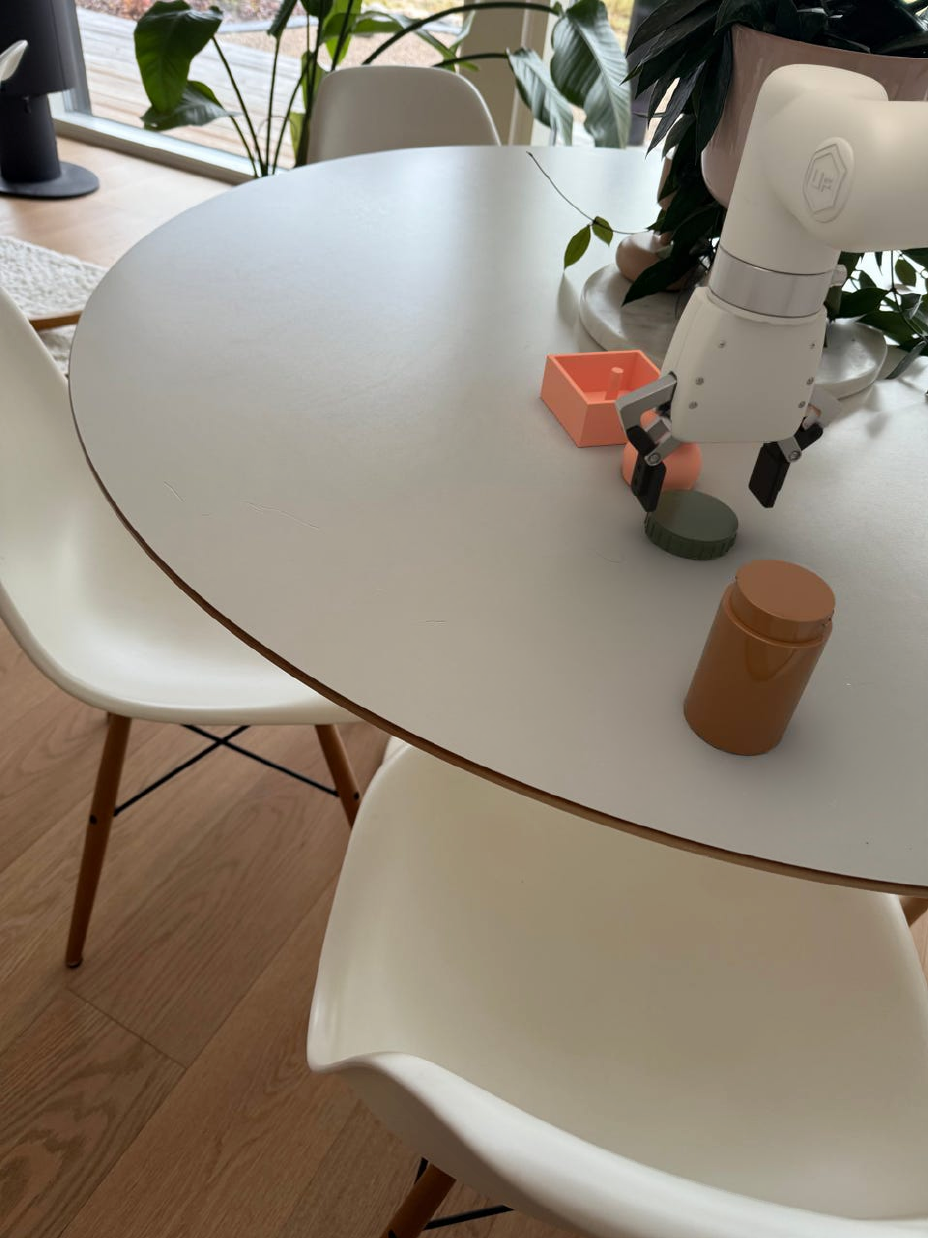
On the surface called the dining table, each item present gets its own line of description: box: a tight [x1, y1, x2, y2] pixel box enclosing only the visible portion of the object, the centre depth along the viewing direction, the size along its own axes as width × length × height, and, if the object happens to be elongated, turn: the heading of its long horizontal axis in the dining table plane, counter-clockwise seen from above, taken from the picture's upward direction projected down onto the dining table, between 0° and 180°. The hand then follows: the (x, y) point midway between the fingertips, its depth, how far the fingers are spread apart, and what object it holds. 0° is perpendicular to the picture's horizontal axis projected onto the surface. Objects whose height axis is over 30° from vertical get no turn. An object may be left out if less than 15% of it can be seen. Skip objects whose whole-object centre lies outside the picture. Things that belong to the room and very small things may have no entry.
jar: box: [683, 558, 836, 756], centre depth 61 cm, size 6×6×11 cm
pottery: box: [539, 349, 703, 493], centre depth 86 cm, size 18×10×10 cm, turn 19°
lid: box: [643, 489, 739, 561], centre depth 79 cm, size 7×7×2 cm
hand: (702, 500), depth 77 cm, fingers open, 9 cm apart
